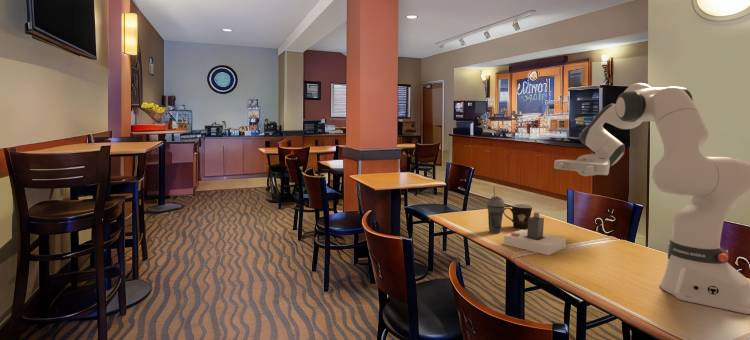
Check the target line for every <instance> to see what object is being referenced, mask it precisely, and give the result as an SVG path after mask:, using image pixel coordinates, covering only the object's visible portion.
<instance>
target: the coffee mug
mask: <svg viewBox="0 0 750 340" xmlns="http://www.w3.org/2000/svg"><path fill="white" fill-rule="evenodd" d="M506 210H510V212H511V213H512V218H511V217H510V216H508V215H507V214H506V213H505V211H506ZM532 211H533V206H532V205H529V204H526V203H525V204H523V203H513V204H512V205H511V207H508V206H507V207H504V211H503V215H504V216H505V218H507V219H509V220H510V221H511V222H512V225H513V226H512V228H513V229H517V230H528V218H530V217H532Z"/></svg>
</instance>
